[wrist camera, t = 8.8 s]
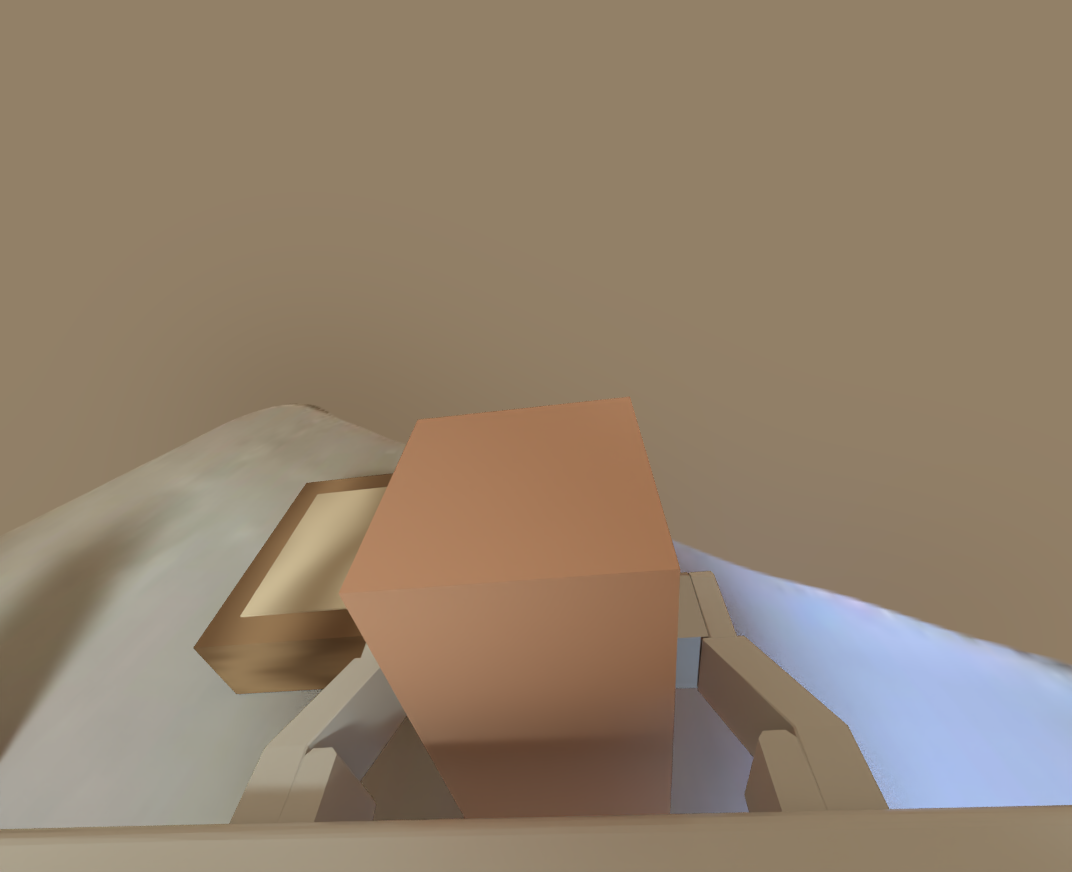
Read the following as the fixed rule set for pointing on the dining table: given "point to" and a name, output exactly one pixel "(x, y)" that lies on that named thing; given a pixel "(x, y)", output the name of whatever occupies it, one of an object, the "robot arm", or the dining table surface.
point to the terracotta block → (528, 609)
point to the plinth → (296, 595)
